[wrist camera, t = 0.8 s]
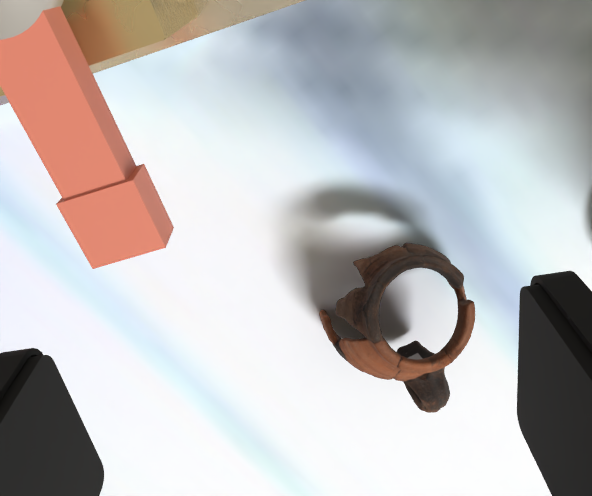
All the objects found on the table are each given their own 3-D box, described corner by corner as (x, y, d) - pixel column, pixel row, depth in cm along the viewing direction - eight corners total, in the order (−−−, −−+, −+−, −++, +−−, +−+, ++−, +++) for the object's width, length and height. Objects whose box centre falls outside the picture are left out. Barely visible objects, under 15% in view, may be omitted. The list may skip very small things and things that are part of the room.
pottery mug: (285, 285, 39) (323, 297, 32) (389, 215, 42) (449, 210, 34) (368, 420, 41) (424, 463, 34) (463, 346, 44) (537, 370, 36)
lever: (-94, -85, 18) (-130, -88, 17) (25, -133, 18) (-1, -141, 16) (93, 251, 24) (79, 272, 23) (186, 224, 24) (179, 243, 22)
